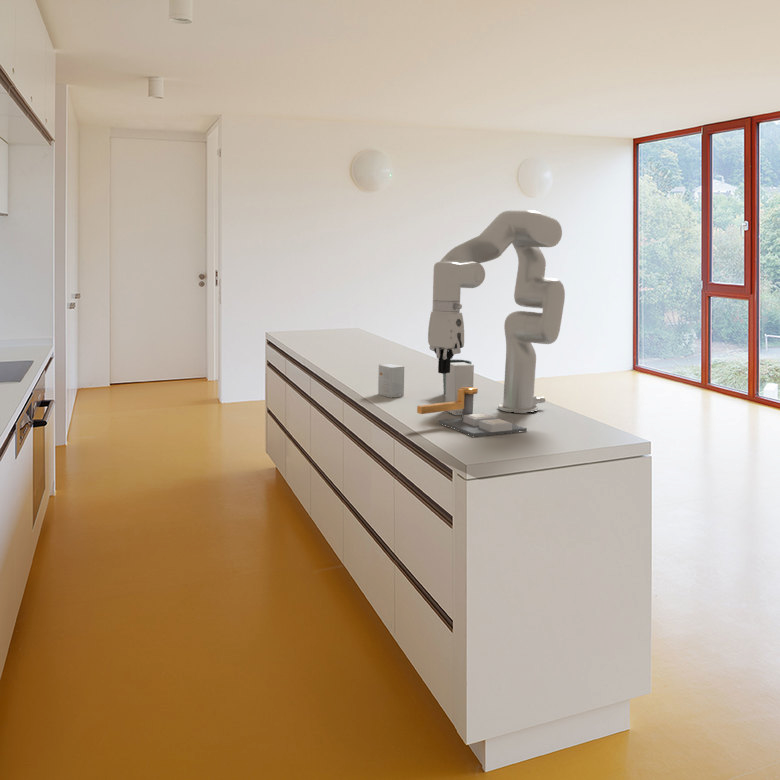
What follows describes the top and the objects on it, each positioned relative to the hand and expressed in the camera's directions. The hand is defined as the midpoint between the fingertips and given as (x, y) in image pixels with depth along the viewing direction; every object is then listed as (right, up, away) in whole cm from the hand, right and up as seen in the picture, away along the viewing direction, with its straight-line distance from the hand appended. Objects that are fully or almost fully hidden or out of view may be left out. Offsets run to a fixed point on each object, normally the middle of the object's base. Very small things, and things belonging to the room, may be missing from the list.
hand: (444, 372), depth 217 cm
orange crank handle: (+1, -11, +7) cm, 13 cm away
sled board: (+11, -16, +6) cm, 20 cm away
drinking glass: (+8, -7, +56) cm, 57 cm away
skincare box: (+6, -12, +26) cm, 29 cm away
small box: (-15, -7, +51) cm, 54 cm away
